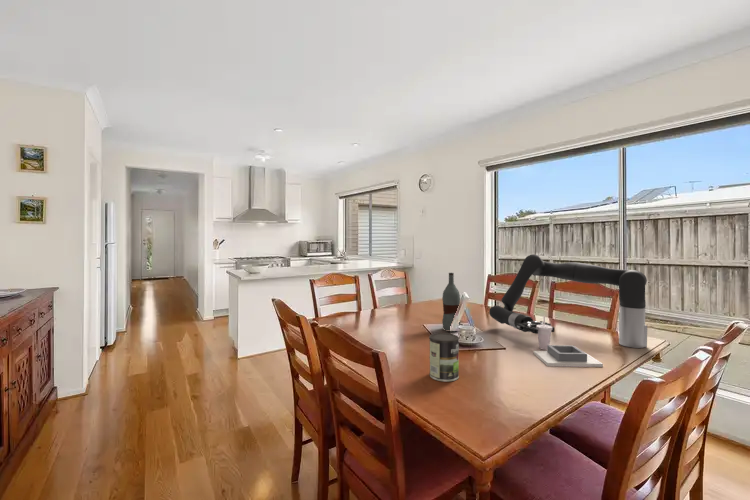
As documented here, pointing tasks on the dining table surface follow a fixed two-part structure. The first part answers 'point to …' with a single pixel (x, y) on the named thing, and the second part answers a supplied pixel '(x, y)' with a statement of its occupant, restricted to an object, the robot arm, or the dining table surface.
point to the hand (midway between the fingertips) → (545, 330)
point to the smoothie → (544, 335)
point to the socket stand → (566, 357)
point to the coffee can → (444, 357)
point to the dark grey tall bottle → (450, 302)
